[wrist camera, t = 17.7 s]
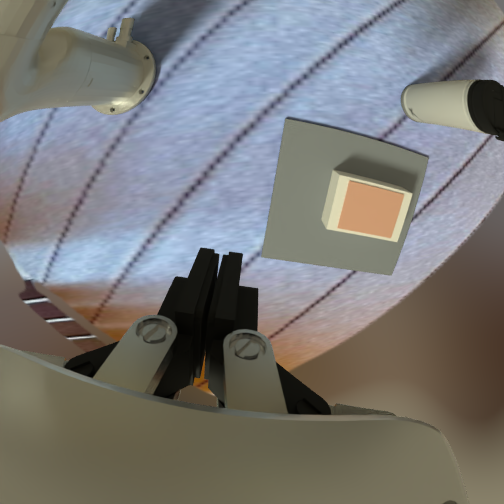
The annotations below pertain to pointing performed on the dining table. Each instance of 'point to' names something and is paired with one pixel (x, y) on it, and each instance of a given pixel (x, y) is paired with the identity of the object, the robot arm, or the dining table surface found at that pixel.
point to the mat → (315, 192)
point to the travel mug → (457, 105)
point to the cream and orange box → (365, 206)
